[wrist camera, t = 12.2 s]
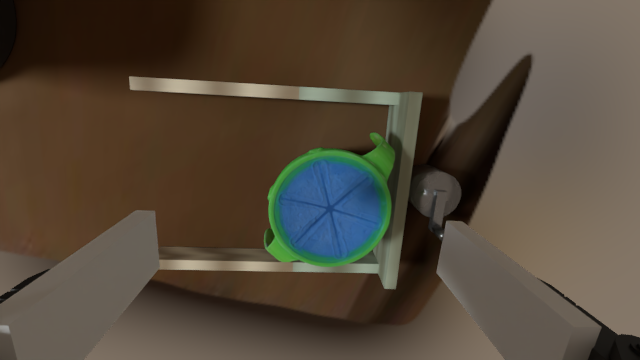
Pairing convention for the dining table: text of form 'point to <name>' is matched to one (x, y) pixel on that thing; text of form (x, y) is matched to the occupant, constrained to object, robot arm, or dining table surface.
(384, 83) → the dining table surface
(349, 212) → the snack cup
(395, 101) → the bay
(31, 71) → the dining table surface
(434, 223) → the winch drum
